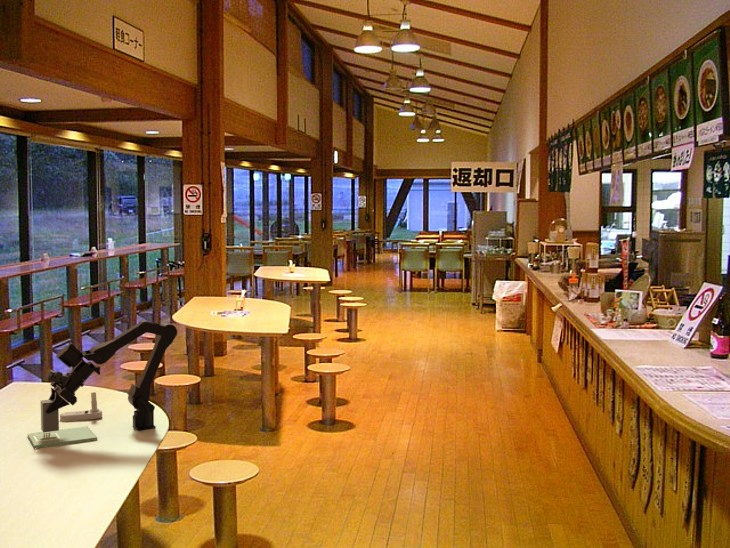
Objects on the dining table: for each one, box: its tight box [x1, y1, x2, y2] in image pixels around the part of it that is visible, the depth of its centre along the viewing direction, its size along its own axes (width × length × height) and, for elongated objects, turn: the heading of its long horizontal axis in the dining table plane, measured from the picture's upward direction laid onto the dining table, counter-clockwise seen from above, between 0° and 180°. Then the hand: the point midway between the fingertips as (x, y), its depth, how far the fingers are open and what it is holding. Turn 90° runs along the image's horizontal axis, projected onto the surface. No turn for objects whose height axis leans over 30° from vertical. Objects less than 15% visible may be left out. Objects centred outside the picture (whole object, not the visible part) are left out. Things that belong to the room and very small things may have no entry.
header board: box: [27, 425, 98, 449], centre depth 273 cm, size 20×16×2 cm
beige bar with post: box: [59, 392, 103, 422], centre depth 299 cm, size 5×10×15 cm
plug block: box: [40, 399, 60, 432], centre depth 270 cm, size 5×4×10 cm
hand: (45, 411), depth 270 cm, fingers closed on plug block, 4 cm apart
